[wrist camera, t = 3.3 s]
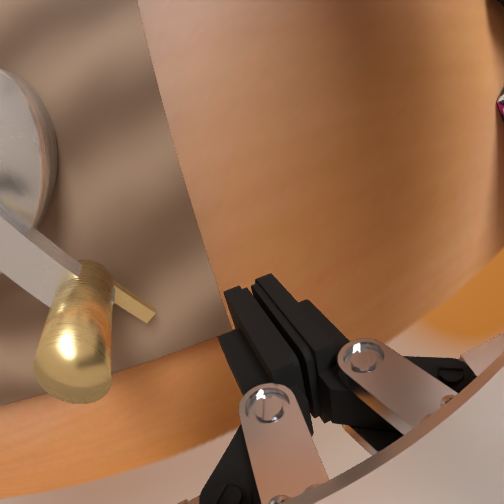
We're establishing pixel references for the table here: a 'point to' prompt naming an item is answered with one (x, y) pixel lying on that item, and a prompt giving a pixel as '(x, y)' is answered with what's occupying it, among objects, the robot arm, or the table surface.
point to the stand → (107, 184)
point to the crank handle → (53, 256)
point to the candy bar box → (501, 103)
